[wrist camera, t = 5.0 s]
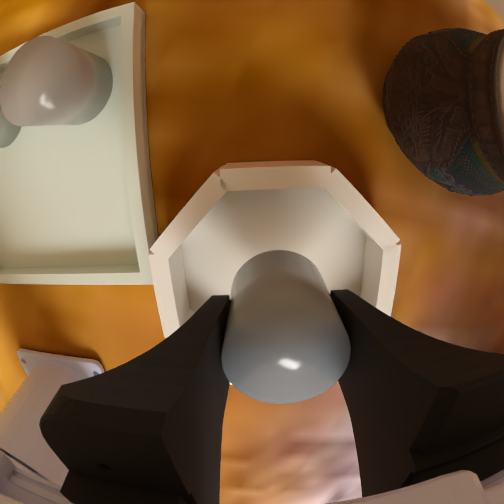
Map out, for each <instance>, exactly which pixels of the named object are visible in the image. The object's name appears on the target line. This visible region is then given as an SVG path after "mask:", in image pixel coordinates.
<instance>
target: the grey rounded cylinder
mask: <svg viewBox="0 0 504 504" xmlns="http://www.w3.org/2000/svg"><path fill="white" fill-rule="evenodd" d="M350 354H351V345H350V340H349V337H348V334H347V332H346V330H345V327H344V325H343V323H342V320H341V318H340V316H339V313H338V311H337V309H336V307H335V304H334V302H333V300H332V298H331V295H330V293H329V291H328V289H327V287H326V284H325V282H324V280H323V278H322V276H321V274H320V272H319V270H318V268H317V267H316V266H315V265H314V264H313V263H312V262H311V261H310V260H309V259H307V258H306V257H304V256H303V255H301V254H298V253H296V252H292V251H288V250H272V251H267V252H263V253H260V254H258V255H256V256H254V257H252V258H251V259H249V260H248V261H247V262H245V263H244V264H243V265H242V266H241V268H240V269H239V270H238V272H237V273H236V275H235V277H234V280H233V283H232V287H231V294H230V303H229V310H228V317H227V322H226V328H225V335H224V342H223V349H222V367H223V370H224V373H225V375H226V377H227V378H228V380H229V381H230V383H231V384H232V385H233V386H234V387H235V388H236V389H237V390H239V391H240V392H241V393H243V394H245V395H246V396H248V397H250V398H253V399H255V400H258V401H262V402H266V403H274V404H287V403H295V402H300V401H304V400H307V399H310V398H313V397H315V396H317V395H319V394H321V393H323V392H324V391H326V390H327V389H329V388H330V387H331V386H332V385H334V384H335V383H336V382H337V381H338V380H339V378H340V377H341V376H342V374H343V373H344V371H345V370H346V368H347V366H348V363H349V360H350Z"/></svg>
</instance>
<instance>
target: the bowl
mask: <svg viewBox="0 0 504 504" xmlns="http://www.w3.org/2000/svg"><path fill="white" fill-rule="evenodd" d="M399 240H400V239H399V238H398V237H397V236H396V234H395V233H394V232H393V231H392V230H391V228H390V227H389V226H388V225H387V224H386V223H385V221H384V220H383V219H382V218H381V217H380V216H379V214H378V213H377V212H376V211H375V210H374V209H373V208H372V206H371V205H370V204H369V203H368V202H367V201H366V200H365V199H364V197H363V196H362V195H361V194H360V193H359V192H358V191H357V190H356V189H355V188H354V187H353V185H352V184H351V183H350V182H349V181H348V180H347V179H346V178H345V177H344V176H343V175H342V174H341V173H340V172H339V171H338V170H337V169H336V168H334V167H331V166H329V165H327V164H324V163H321V162H318V161H316V160H294V161H258V162H237V163H227V164H225V165H224V166H223V165H222V166H221V167H220V168H218V169H217V170H216V171H214V172H213V174H212V175H211V176H210V177H209V178H208V179H207V180H206V182H205V183H204V184H203V185H202V186H201V187H200V188H199V190H198V191H197V192H196V193H195V194H194V195H193V197H192V198H191V199H190V200H189V201H188V203H187V204H186V205H185V206H184V207H183V209H182V210H181V211H180V212H179V213H178V215H177V216H176V217H175V218H174V219H173V221H172V222H171V223H170V224H169V226H168V227H167V228H166V229H165V231H164V232H163V233H162V234H161V236H160V237H159V238H158V239H157V241H156V242H155V243H154V244H153V246H152V247H151V248H150V251H151V252H150V253H149V254H148V257H149V263H150V268H151V274H152V279H153V285H154V290H155V295H156V300H157V305H158V310H159V315H160V319H161V324H162V328H163V333H164V337H169V336H170V335H171V334H172V333H174V332H175V331H176V330H177V329H178V328H179V327H180V326H182V325H183V324H184V323H185V322H186V321H187V320H188V319H189V318H190V317H191V316H192V315H193V314H194V313H195V312H196V311H197V310H198V309H199V308H200V307H201V306H202V305H203V304H204V303H205V302H206V301H207V300H208V299H209V298H210V297H211V296H212V295H229V296H230V294H231V287H232V283H233V280H234V277H235V275H236V273H237V272H238V270H239V269H240V268H241V266H242V265H243V264H244V263H245V262H247V261H248V260H249V259H251V258H252V257H254V256H256V255H258V254H260V253H263V252H267V251H272V250H288V251H292V252H296V253H298V254H301V255H303V256H304V257H306V258H307V259H309V260H310V261H311V262H312V263H313V264H314V265H315V266H316V267H317V268H318V270H319V272H320V274H321V276H322V278H323V280H324V282H325V284H326V287H327V289H328V291H329V293H330V292H331V290H343V289H348V290H350V291H351V292H353V293H355V294H356V295H358V296H359V297H361V298H362V299H364V300H365V301H367V302H368V303H370V304H371V305H373V306H374V307H376V308H377V309H379V310H380V311H382V312H384V313H385V314H387V315H388V316H390V317H391V311H392V306H393V300H394V294H395V288H396V281H397V275H398V267H399V260H400V252H401V244H400V243H399V242H398V241H399ZM230 384H231V383H230ZM231 385H232V384H231Z"/></svg>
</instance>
